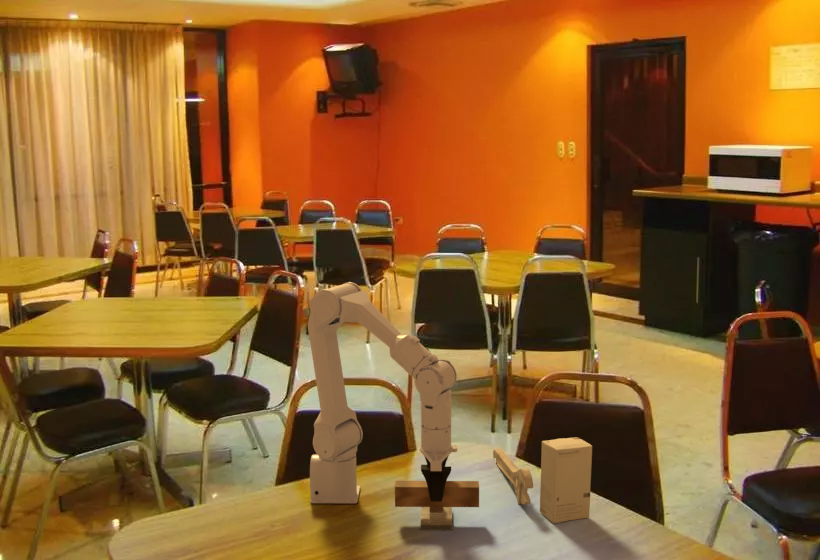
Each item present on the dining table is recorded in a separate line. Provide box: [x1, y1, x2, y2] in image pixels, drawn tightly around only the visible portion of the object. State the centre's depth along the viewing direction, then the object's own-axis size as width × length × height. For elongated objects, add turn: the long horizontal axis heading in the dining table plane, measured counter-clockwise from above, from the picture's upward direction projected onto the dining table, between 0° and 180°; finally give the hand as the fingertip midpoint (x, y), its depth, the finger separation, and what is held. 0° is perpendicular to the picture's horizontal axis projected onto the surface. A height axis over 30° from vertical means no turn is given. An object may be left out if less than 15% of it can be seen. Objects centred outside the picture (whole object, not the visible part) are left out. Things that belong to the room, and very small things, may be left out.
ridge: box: [419, 507, 453, 531], centre depth 173 cm, size 6×8×4 cm
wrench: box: [492, 448, 534, 506], centre depth 189 cm, size 8×2×30 cm
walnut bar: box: [394, 480, 480, 508], centre depth 172 cm, size 16×3×4 cm, turn 88°
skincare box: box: [539, 436, 593, 525], centre depth 174 cm, size 8×6×15 cm
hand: (436, 492), depth 172 cm, fingers open, 7 cm apart
